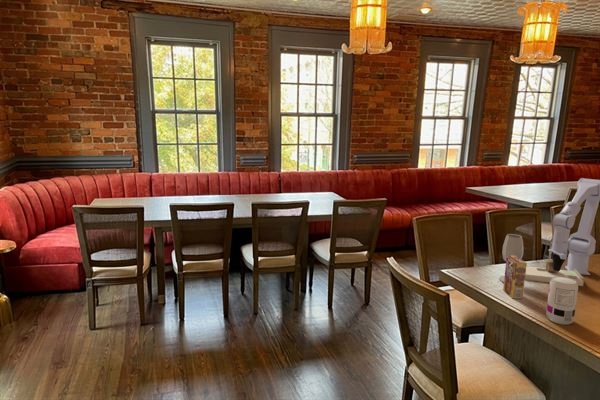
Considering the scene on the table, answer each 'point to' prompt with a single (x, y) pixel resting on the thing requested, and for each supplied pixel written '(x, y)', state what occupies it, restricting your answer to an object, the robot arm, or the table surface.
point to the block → (550, 267)
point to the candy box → (514, 277)
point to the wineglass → (512, 248)
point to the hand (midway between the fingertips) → (556, 270)
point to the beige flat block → (551, 275)
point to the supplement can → (562, 300)
